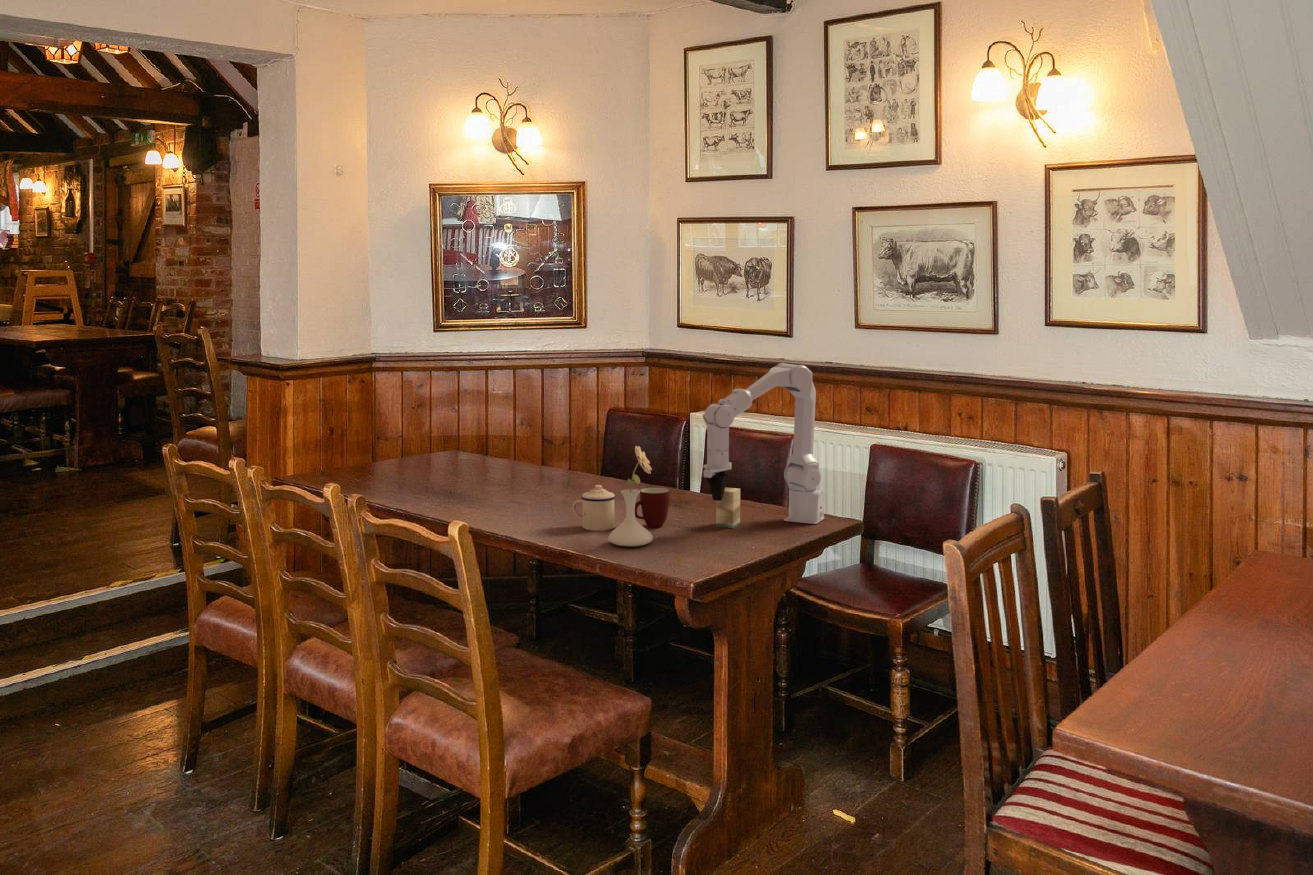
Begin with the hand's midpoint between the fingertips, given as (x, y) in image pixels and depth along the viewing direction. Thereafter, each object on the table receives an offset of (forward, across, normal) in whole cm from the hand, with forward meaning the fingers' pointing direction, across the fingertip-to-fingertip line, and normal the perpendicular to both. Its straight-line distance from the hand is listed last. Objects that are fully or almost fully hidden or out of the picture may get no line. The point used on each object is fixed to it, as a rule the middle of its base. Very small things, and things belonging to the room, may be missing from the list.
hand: (717, 500), depth 291 cm
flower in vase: (+9, +22, -14) cm, 28 cm away
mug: (+9, +4, -18) cm, 20 cm away
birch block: (+8, -8, 0) cm, 11 cm away
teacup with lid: (+9, +10, -32) cm, 35 cm away
